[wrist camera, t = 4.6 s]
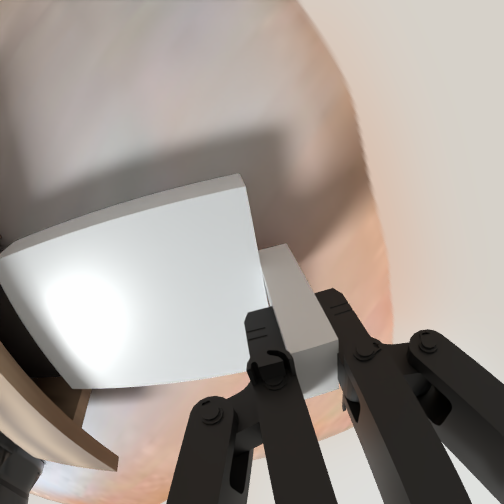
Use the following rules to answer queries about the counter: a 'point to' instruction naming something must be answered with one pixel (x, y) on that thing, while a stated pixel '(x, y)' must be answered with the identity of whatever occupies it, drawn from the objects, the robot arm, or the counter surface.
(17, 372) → the low shelf
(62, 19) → the counter surface
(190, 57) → the counter surface
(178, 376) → the plastic case
